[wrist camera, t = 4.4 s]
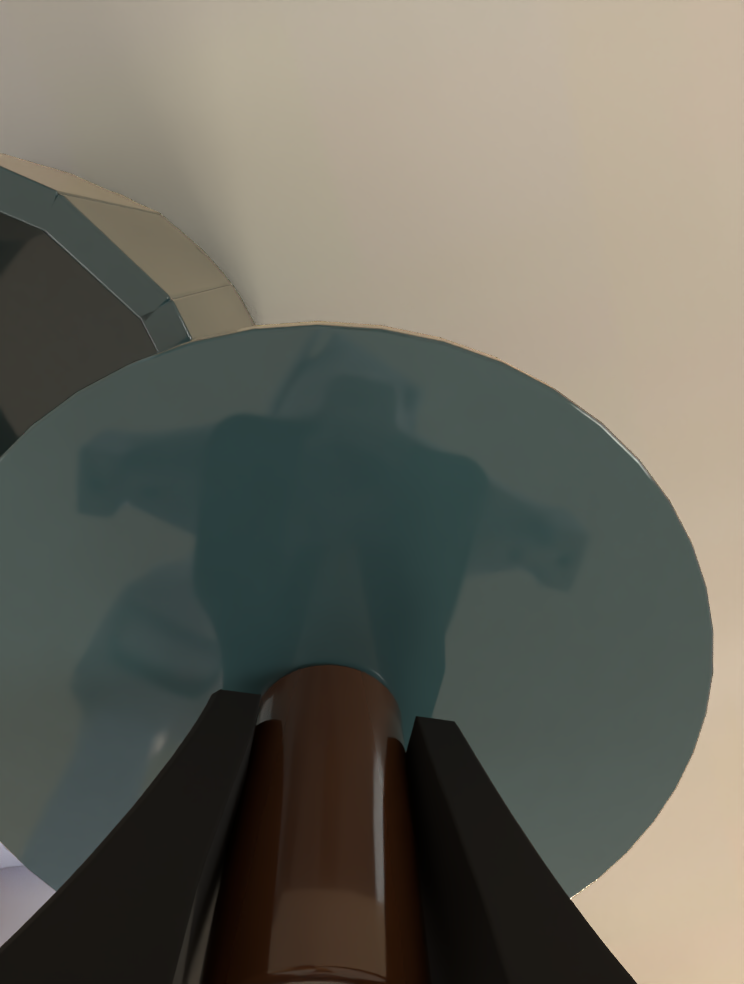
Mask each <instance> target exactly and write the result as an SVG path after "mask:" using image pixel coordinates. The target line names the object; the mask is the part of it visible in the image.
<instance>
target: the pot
mask: <svg viewBox="0 0 744 984" xmlns="http://www.w3.org/2000/svg"><path fill="white" fill-rule="evenodd" d="M251 326H255V323H254V321H253V320H252V318H251V316H250V314H249V312H248V310H247V308H246V307H245V305H244V303H243V301H242V299H241V297H240V296H239V295H238V293H237V292H236V290H235V288H234V286H233V285H231V282H230V281H229V280H228V279H227V277H226V276H225V275H224V273H223V272H222V271H221V270H220V269H219V268H218V266H217V265H216V264H215V263H214V262H213V261H212V260H211V259H210V258H209V256H208V255H207V254H206V253H205V252H204V251H203V250H202V249H201V248H200V247H199V246H198V245H197V244H195V243H194V242H193V241H192V240H191V239H190V238H189V237H187V236H186V235H185V234H184V233H183V232H182V231H181V230H179V229H178V228H177V227H175V226H174V225H172V224H171V223H170V222H169V221H168V220H167V219H166V218H165V217H164V216H162V215H161V213H159V212H157V211H155V210H152V209H150V208H148V207H146V206H143V205H141V204H139V203H137V202H135V201H133V200H131V199H129V198H127V197H125V196H123V195H121V194H118V193H115V192H113V191H110V190H107V189H105V188H103V187H100V186H98V185H96V184H93V183H91V182H89V181H87V180H84V179H82V178H80V177H78V176H75V175H73V174H71V173H67V172H64V171H61V170H57V169H54V168H50V167H47V166H44V165H40V164H37V163H33V162H30V161H26V160H23V159H20V158H16V157H13V156H9V155H6V154H2V153H0V456H1V455H2V454H3V453H4V452H5V451H6V450H7V449H8V448H9V447H10V446H11V445H12V444H13V443H14V442H15V441H16V440H17V439H18V438H19V437H20V436H21V435H22V434H23V433H24V432H25V431H26V430H27V429H28V428H29V427H30V426H31V425H32V424H33V423H34V422H36V421H37V420H39V419H40V418H41V417H43V416H44V415H45V414H47V413H48V412H49V411H51V410H52V409H53V408H55V407H56V406H58V405H59V404H60V403H62V402H63V401H64V400H66V399H67V398H68V397H70V396H71V395H72V394H74V393H75V392H76V391H78V390H80V389H82V388H84V387H85V386H87V385H89V384H91V383H93V382H95V381H97V380H99V379H101V378H102V377H104V376H106V375H108V374H110V373H112V372H114V371H116V370H118V369H119V368H121V367H123V366H125V365H127V364H129V363H131V362H133V361H135V360H137V359H139V358H141V357H144V356H147V355H150V354H152V353H155V352H158V351H161V350H164V349H166V348H169V347H172V346H175V345H178V344H180V343H183V342H186V341H189V340H192V339H194V338H198V337H202V336H207V335H212V334H217V333H222V332H227V331H231V330H236V329H241V328H246V327H251Z"/></svg>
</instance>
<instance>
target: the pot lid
mask: <svg viewBox="0 0 744 984" xmlns="http://www.w3.org/2000/svg"><path fill="white" fill-rule="evenodd" d="M712 676H713V626H712V620H711V614H710V607H709V601H708V594H707V588H706V584H705V581H704V578H703V575H702V572H701V569H700V566H699V563H698V560H697V557H696V554H695V551H694V548H693V545H692V542H691V540H690V538H689V536H688V534H687V532H686V530H685V529H684V527H683V525H682V523H681V521H680V519H679V517H678V515H677V513H676V511H675V509H674V507H673V506H672V504H671V502H670V500H669V499H668V497H667V496H666V495H665V493H664V492H663V490H662V489H661V488H660V486H659V485H658V484H657V482H656V481H655V480H654V478H653V477H652V476H651V474H650V473H649V472H648V470H647V469H646V468H645V466H644V465H643V464H642V462H641V461H640V460H639V459H638V458H637V457H636V456H635V455H634V454H633V453H632V452H631V451H630V450H629V449H628V448H627V447H626V446H625V445H624V444H623V443H622V442H621V441H620V440H619V439H618V438H617V437H616V436H615V435H614V434H613V433H612V432H611V431H610V430H609V429H608V428H607V427H606V426H605V425H604V424H603V423H602V422H600V421H599V420H598V419H596V418H595V417H593V416H592V415H591V414H589V413H588V412H587V411H585V410H584V409H582V408H581V407H580V406H578V405H577V404H575V403H574V402H573V401H571V400H570V399H568V398H567V397H566V396H564V395H563V394H562V393H560V392H559V391H557V390H556V389H555V388H553V387H551V386H550V385H548V384H547V383H545V382H543V381H541V380H539V379H537V378H535V377H533V376H531V375H530V374H528V373H526V372H524V371H522V370H520V369H518V368H516V367H514V366H512V365H510V364H508V363H506V362H505V361H503V360H501V359H499V358H497V357H494V356H492V355H489V354H486V353H483V352H480V351H477V350H475V349H472V348H469V347H466V346H463V345H460V344H458V343H455V342H452V341H449V340H446V339H443V338H441V337H436V336H431V335H426V334H421V333H416V332H411V331H407V330H402V329H397V328H392V327H387V326H382V325H371V324H356V323H341V322H326V321H312V322H297V323H282V324H267V325H256V326H251V327H246V328H241V329H236V330H231V331H227V332H222V333H217V334H212V335H207V336H202V337H198V338H194V339H192V340H189V341H186V342H183V343H180V344H178V345H175V346H172V347H169V348H166V349H164V350H161V351H158V352H155V353H152V354H150V355H147V356H144V357H141V358H139V359H137V360H135V361H133V362H131V363H129V364H127V365H125V366H123V367H121V368H119V369H118V370H116V371H114V372H112V373H110V374H108V375H106V376H104V377H102V378H101V379H99V380H97V381H95V382H93V383H91V384H89V385H87V386H85V387H84V388H82V389H80V390H78V391H76V392H75V393H74V394H72V395H71V396H70V397H68V398H67V399H66V400H64V401H63V402H62V403H60V404H59V405H58V406H56V407H55V408H53V409H52V410H51V411H49V412H48V413H47V414H45V415H44V416H43V417H41V418H40V419H39V420H37V421H36V422H34V423H33V424H32V425H31V426H30V427H29V428H28V429H27V430H26V431H25V432H24V433H23V434H22V435H21V436H20V437H19V438H18V439H17V440H16V441H15V442H14V443H13V444H12V445H11V446H10V447H9V448H8V449H7V450H6V451H5V452H4V453H3V454H2V455H1V456H0V842H1V843H2V844H3V845H4V846H5V847H6V848H7V849H8V850H9V851H10V852H11V853H12V854H13V855H14V856H15V857H16V858H17V859H18V860H19V861H20V862H21V863H22V864H23V865H24V866H25V867H26V868H27V869H28V870H29V871H30V872H32V873H33V874H34V875H35V876H37V877H38V878H39V879H40V880H42V881H43V882H44V883H46V884H47V885H48V886H49V887H51V888H52V889H53V890H54V891H57V890H58V889H59V888H60V887H61V886H62V885H63V884H64V883H65V882H66V881H67V880H68V879H69V878H70V877H71V875H72V874H73V873H74V872H75V871H76V870H77V869H78V868H79V867H80V866H81V865H82V864H83V863H84V862H85V860H86V859H87V858H88V857H89V856H90V855H91V854H92V853H93V851H94V850H95V849H96V848H97V847H98V846H99V845H100V843H101V842H102V841H103V840H104V839H105V838H106V837H107V835H108V834H109V833H110V832H111V831H112V830H113V829H114V827H115V826H116V825H117V824H118V823H119V822H120V821H121V819H122V818H123V817H124V816H125V815H126V814H127V813H128V811H129V810H130V809H131V808H132V807H133V805H134V804H135V803H136V802H137V801H138V799H139V798H140V797H141V796H142V794H143V793H144V792H145V790H146V789H147V788H148V787H149V785H150V784H151V783H152V781H153V780H154V779H155V778H156V776H157V775H158V774H159V773H160V771H161V770H162V769H163V767H164V766H165V765H166V764H167V762H168V761H169V760H170V758H171V757H172V756H173V754H174V753H175V751H176V750H177V749H178V747H179V746H180V744H181V743H182V742H183V740H184V739H185V737H186V736H187V734H188V733H189V732H190V730H191V729H192V727H193V726H194V724H195V722H196V721H197V719H198V718H199V716H200V714H201V713H202V711H203V710H204V708H205V706H206V704H207V702H208V700H209V699H210V697H211V695H212V694H213V693H215V692H217V691H218V690H220V689H222V690H229V691H237V692H244V693H251V694H259V695H261V698H260V705H259V711H258V717H257V723H256V728H255V733H254V738H253V743H252V748H251V753H250V758H249V764H248V769H247V774H246V779H245V782H244V786H243V789H242V793H241V797H240V800H239V804H238V807H237V811H236V815H235V818H234V822H233V826H232V829H231V833H230V837H229V841H228V845H227V849H226V854H225V859H224V864H223V868H222V873H221V878H220V883H219V888H218V892H217V897H216V902H215V907H214V912H213V917H212V921H211V926H210V931H209V936H208V941H207V945H206V950H205V955H204V960H203V965H202V970H201V974H200V979H199V984H432V982H431V973H430V965H429V956H428V947H427V938H426V929H425V920H424V911H423V902H422V893H421V884H420V875H419V866H418V857H417V849H416V840H415V831H414V822H413V813H412V804H411V795H410V786H409V777H408V768H407V759H406V750H407V747H408V743H409V740H410V736H411V732H412V729H413V725H414V721H415V718H416V716H420V717H427V718H434V719H442V720H449V721H455V723H456V724H457V725H458V727H459V728H460V730H461V732H462V733H463V735H464V737H465V738H466V740H467V742H468V743H469V745H470V747H471V748H472V750H473V752H474V753H475V755H476V757H477V758H478V760H479V762H480V763H481V765H482V767H483V768H484V770H485V772H486V773H487V775H488V776H489V778H490V780H491V781H492V783H493V785H494V786H495V788H496V789H497V791H498V793H499V794H500V796H501V797H502V799H503V801H504V802H505V804H506V805H507V807H508V808H509V810H510V812H511V813H512V815H513V816H514V818H515V819H516V821H517V822H518V824H519V825H520V827H521V828H522V830H523V831H524V833H525V834H526V836H527V837H528V839H529V840H530V842H531V843H532V845H533V846H534V848H535V849H536V851H537V852H538V854H539V855H540V857H541V858H542V860H543V861H544V863H545V864H546V866H547V867H548V868H549V870H550V871H551V873H552V874H553V876H554V877H555V878H556V880H557V881H558V883H559V884H560V885H561V887H562V888H563V890H564V891H565V892H566V894H567V895H568V896H569V898H570V899H572V898H573V897H575V896H576V895H577V894H579V893H580V892H581V891H583V890H584V889H585V888H587V887H588V886H590V885H591V884H592V883H594V882H595V881H596V880H598V879H599V878H600V877H601V876H602V875H603V874H604V873H606V872H607V871H608V870H609V869H610V868H611V867H612V866H613V865H614V864H615V863H616V862H618V861H619V860H620V859H621V858H622V857H623V856H624V855H625V854H626V853H627V852H628V851H629V850H630V849H631V848H632V847H633V845H634V844H635V843H636V842H637V841H638V840H639V839H640V837H641V836H642V835H643V834H644V833H645V832H646V830H647V829H648V828H649V827H650V826H651V825H652V823H653V822H654V821H655V819H656V818H657V816H658V815H659V813H660V812H661V810H662V809H663V807H664V806H665V804H666V803H667V801H668V800H669V798H670V797H671V795H672V794H673V792H674V791H675V789H676V788H677V786H678V784H679V782H680V780H681V778H682V775H683V773H684V771H685V769H686V767H687V765H688V763H689V761H690V759H691V757H692V755H693V753H694V750H695V747H696V744H697V741H698V738H699V735H700V732H701V729H702V725H703V722H704V719H705V716H706V712H707V706H708V700H709V694H710V688H711V682H712Z"/></svg>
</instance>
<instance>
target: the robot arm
mask: <svg viewBox="0 0 744 984" xmlns="http://www.w3.org/2000/svg"><path fill="white" fill-rule="evenodd" d="M260 698H261V695H259V694H251V693H244V692H237V691H229V690H222V689H220V690H218V691H217V692H215V693H213V694H212V695H211V697H210V699H209V700H208V702H207V704H206V706H205V708H204V710H203V711H202V713H201V714H200V716H199V718H198V719H197V721H196V722H195V724H194V726H193V727H192V729H191V730H190V732H189V733H188V734H187V736H186V737H185V739H184V740H183V742H182V743H181V744H180V746H179V747H178V749H177V750H176V751H175V753H174V754H173V756H172V757H171V758H170V760H169V761H168V762H167V764H166V765H165V766H164V767H163V769H162V770H161V771H160V773H159V774H158V775H157V776H156V778H155V779H154V780H153V781H152V783H151V784H150V785H149V787H148V788H147V789H146V790H145V792H144V793H143V794H142V796H141V797H140V798H139V799H138V801H137V802H136V803H135V804H134V805H133V807H132V808H131V809H130V810H129V811H128V813H127V814H126V815H125V816H124V817H123V818H122V819H121V821H120V822H119V823H118V824H117V825H116V826H115V827H114V829H113V830H112V831H111V832H110V833H109V834H108V835H107V837H106V838H105V839H104V840H103V841H102V842H101V843H100V845H99V846H98V847H97V848H96V849H95V850H94V851H93V853H92V854H91V855H90V856H89V857H88V858H87V859H86V860H85V862H84V863H83V864H82V865H81V866H80V867H79V868H78V869H77V870H76V871H75V872H74V873H73V874H72V875H71V877H70V878H69V879H68V880H67V881H66V882H65V883H64V884H63V885H62V886H61V887H60V888H59V889H58V890H57V891H54V890H53V889H52V888H51V887H49V886H48V885H47V884H46V883H44V882H43V881H42V880H40V879H39V878H38V877H37V876H35V875H34V874H33V873H32V872H30V871H29V870H28V869H27V868H26V867H25V866H24V865H23V864H22V863H21V862H20V861H19V860H18V859H17V858H16V857H15V856H14V855H13V854H12V853H11V852H10V851H9V850H8V849H7V848H6V847H5V846H4V845H3V844H2V843H1V842H0V984H199V979H200V974H201V970H202V965H203V960H204V955H205V950H206V945H207V941H208V936H209V931H210V926H211V921H212V917H213V912H214V907H215V902H216V897H217V892H218V888H219V883H220V878H221V873H222V868H223V864H224V859H225V854H226V849H227V845H228V841H229V837H230V833H231V829H232V826H233V822H234V818H235V815H236V811H237V807H238V804H239V800H240V797H241V793H242V789H243V786H244V782H245V779H246V774H247V769H248V764H249V758H250V753H251V748H252V743H253V738H254V733H255V728H256V723H257V717H258V711H259V705H260ZM406 759H407V768H408V777H409V786H410V795H411V804H412V813H413V822H414V831H415V840H416V849H417V857H418V866H419V875H420V884H421V893H422V902H423V911H424V920H425V929H426V938H427V947H428V956H429V965H430V973H431V982H432V984H637V983H636V982H635V980H634V979H633V978H632V977H631V976H630V974H629V973H628V972H627V971H626V970H625V968H624V967H623V966H622V965H621V964H620V962H619V961H618V960H617V959H616V958H615V956H614V955H613V954H612V953H611V952H610V950H609V949H608V948H607V947H606V945H605V944H604V943H603V942H602V940H601V939H600V938H599V936H598V935H597V934H596V933H595V931H594V930H593V929H592V927H591V926H590V925H589V923H588V922H587V921H586V919H585V918H584V917H583V915H582V914H581V913H580V911H579V910H578V909H577V907H576V906H575V905H574V903H573V902H572V900H571V899H570V898H569V896H568V895H567V894H566V892H565V891H564V890H563V888H562V887H561V885H560V884H559V883H558V881H557V880H556V878H555V877H554V876H553V874H552V873H551V871H550V870H549V868H548V867H547V866H546V864H545V863H544V861H543V860H542V858H541V857H540V855H539V854H538V852H537V851H536V849H535V848H534V846H533V845H532V843H531V842H530V840H529V839H528V837H527V836H526V834H525V833H524V831H523V830H522V828H521V827H520V825H519V824H518V822H517V821H516V819H515V818H514V816H513V815H512V813H511V812H510V810H509V808H508V807H507V805H506V804H505V802H504V801H503V799H502V797H501V796H500V794H499V793H498V791H497V789H496V788H495V786H494V785H493V783H492V781H491V780H490V778H489V776H488V775H487V773H486V772H485V770H484V768H483V767H482V765H481V763H480V762H479V760H478V758H477V757H476V755H475V753H474V752H473V750H472V748H471V747H470V745H469V743H468V742H467V740H466V738H465V737H464V735H463V733H462V732H461V730H460V728H459V727H458V725H457V724H456V723H455V721H449V720H442V719H434V718H427V717H420V716H416V718H415V721H414V725H413V729H412V732H411V736H410V740H409V743H408V747H407V750H406Z"/></svg>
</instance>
